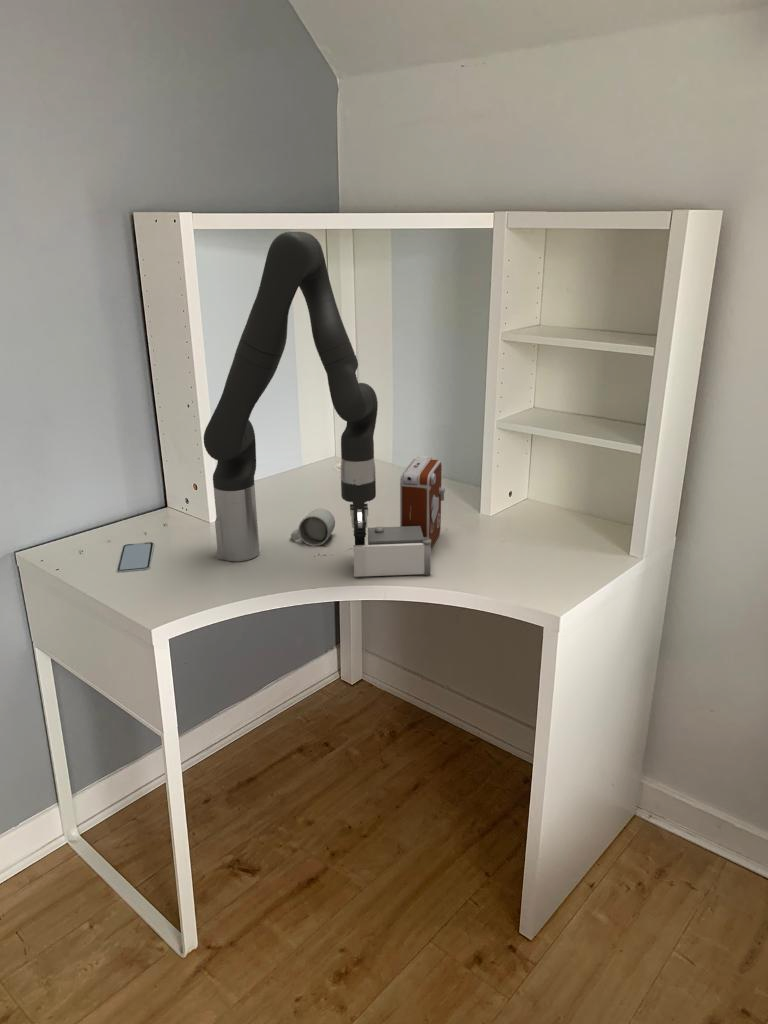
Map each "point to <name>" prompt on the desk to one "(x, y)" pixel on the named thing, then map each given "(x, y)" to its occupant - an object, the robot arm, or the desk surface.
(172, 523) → the desk surface
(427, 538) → the block
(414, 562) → the side door
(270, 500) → the desk surface
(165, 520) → the desk surface
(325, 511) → the ceramic mug
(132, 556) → the smartphone
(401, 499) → the cine camera
